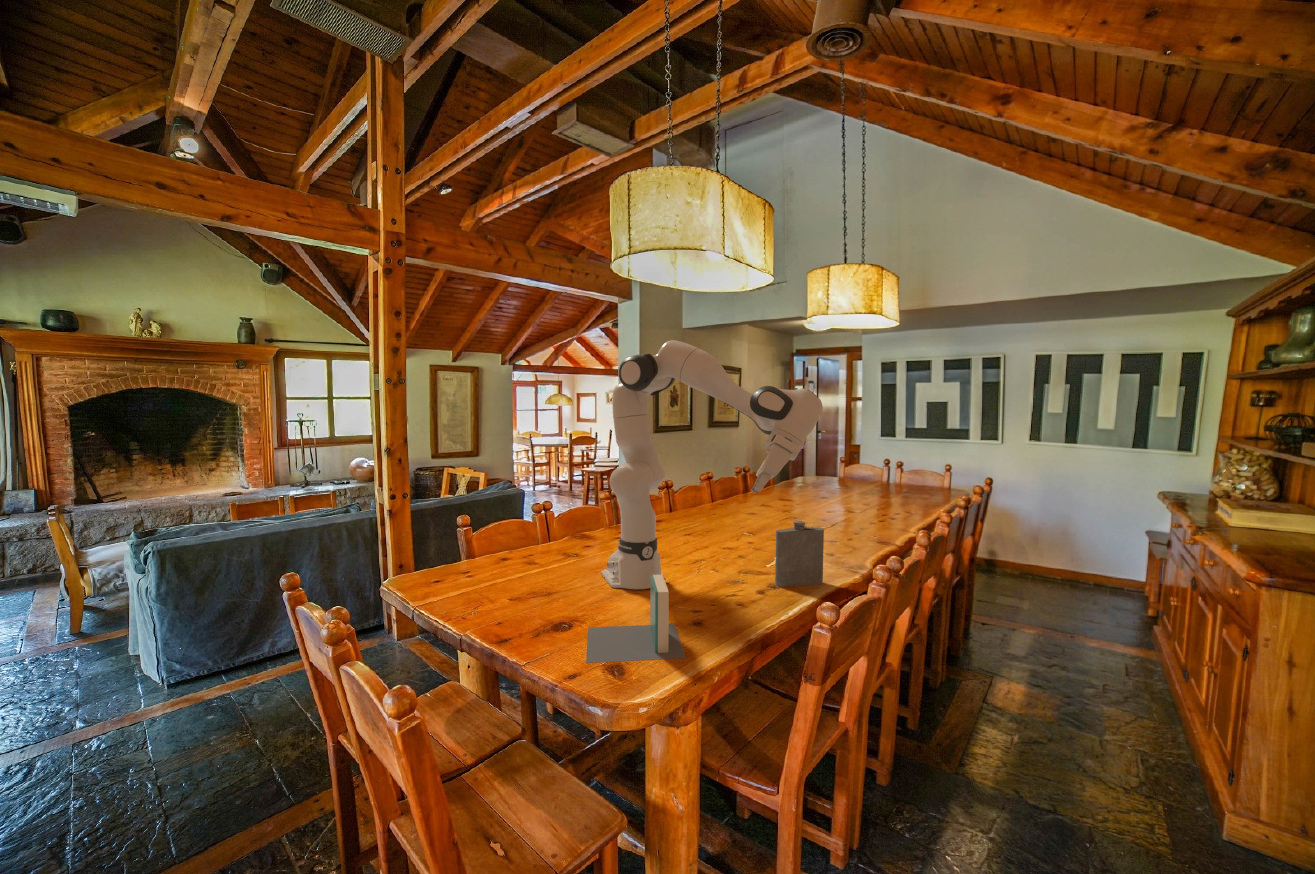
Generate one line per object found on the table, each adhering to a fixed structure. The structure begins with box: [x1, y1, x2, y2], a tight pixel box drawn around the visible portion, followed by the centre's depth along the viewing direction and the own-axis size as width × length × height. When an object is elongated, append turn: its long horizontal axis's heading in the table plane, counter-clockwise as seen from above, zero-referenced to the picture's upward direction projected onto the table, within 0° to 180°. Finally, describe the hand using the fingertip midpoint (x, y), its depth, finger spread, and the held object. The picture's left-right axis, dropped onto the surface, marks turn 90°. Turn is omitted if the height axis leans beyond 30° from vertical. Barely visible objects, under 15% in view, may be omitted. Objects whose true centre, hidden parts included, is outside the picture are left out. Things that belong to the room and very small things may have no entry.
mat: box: [585, 623, 687, 664], centre depth 122 cm, size 22×18×1 cm
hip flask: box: [774, 520, 825, 588], centre depth 163 cm, size 16×4×20 cm, turn 102°
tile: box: [649, 573, 670, 653], centre depth 122 cm, size 3×12×14 cm, turn 6°
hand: (755, 491), depth 134 cm, fingers open, 8 cm apart
